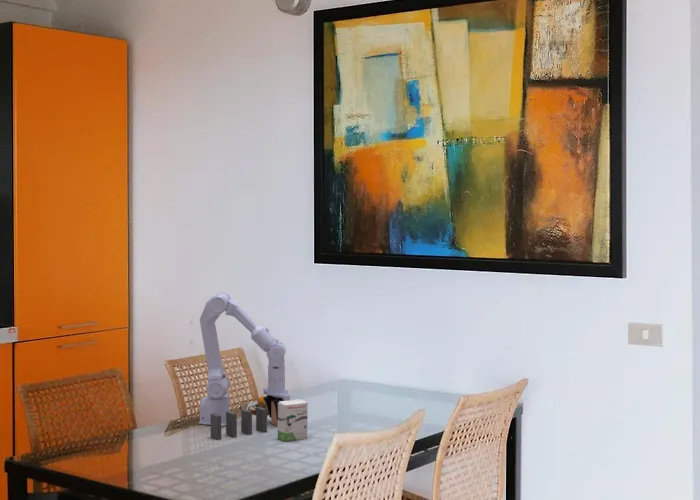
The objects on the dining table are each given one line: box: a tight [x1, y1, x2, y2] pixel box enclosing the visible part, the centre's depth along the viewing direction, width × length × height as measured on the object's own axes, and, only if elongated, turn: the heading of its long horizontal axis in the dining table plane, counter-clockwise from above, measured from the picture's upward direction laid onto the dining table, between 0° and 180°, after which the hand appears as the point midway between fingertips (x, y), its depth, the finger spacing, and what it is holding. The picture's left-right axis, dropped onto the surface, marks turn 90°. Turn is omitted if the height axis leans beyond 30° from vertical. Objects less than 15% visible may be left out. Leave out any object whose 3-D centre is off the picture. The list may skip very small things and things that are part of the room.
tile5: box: [210, 413, 222, 441], centre depth 299 cm, size 2×4×8 cm, turn 34°
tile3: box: [240, 408, 253, 436], centre depth 305 cm, size 2×4×8 cm, turn 34°
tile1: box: [270, 401, 278, 427], centre depth 317 cm, size 2×4×8 cm, turn 35°
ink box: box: [277, 398, 309, 442], centre depth 299 cm, size 9×5×12 cm, turn 123°
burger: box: [247, 394, 269, 416], centre depth 336 cm, size 12×12×8 cm
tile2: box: [255, 407, 268, 434], centre depth 308 cm, size 2×4×8 cm, turn 35°
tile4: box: [225, 410, 238, 438], centre depth 302 cm, size 2×4×8 cm, turn 35°
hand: (276, 418), depth 317 cm, fingers closed on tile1, 4 cm apart
